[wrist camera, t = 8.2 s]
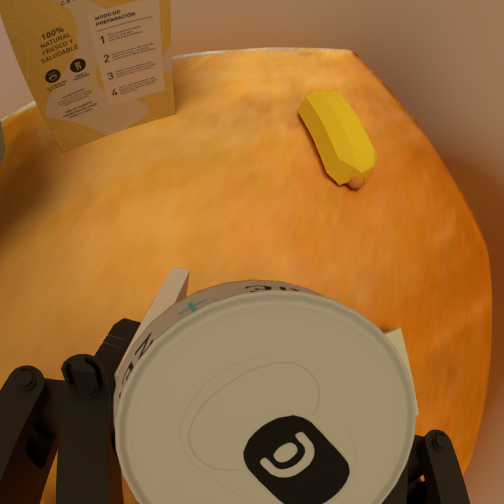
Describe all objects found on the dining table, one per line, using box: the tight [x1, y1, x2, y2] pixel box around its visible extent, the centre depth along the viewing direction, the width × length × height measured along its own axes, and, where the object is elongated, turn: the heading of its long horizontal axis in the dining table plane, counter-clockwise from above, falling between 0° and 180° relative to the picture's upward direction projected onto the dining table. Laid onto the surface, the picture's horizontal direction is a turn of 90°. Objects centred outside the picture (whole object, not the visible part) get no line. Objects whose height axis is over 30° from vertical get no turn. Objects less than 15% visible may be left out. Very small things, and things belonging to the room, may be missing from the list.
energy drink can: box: [114, 280, 416, 504], centre depth 10 cm, size 6×6×15 cm
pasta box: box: [0, 0, 176, 153], centre depth 25 cm, size 18×10×28 cm, turn 113°
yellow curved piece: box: [298, 89, 378, 189], centre depth 38 cm, size 18×7×8 cm
